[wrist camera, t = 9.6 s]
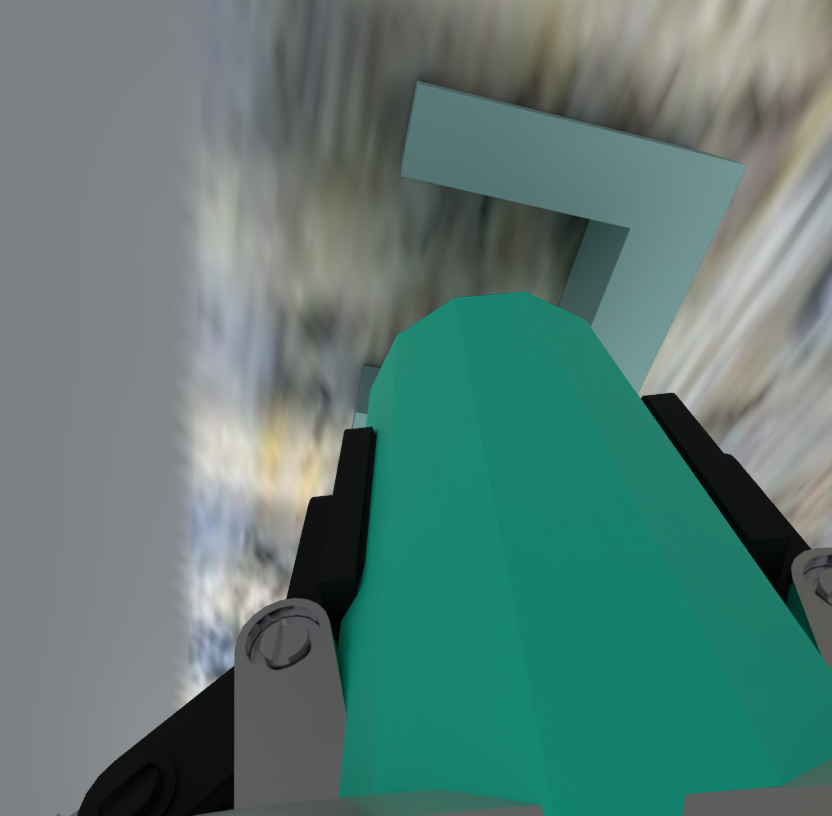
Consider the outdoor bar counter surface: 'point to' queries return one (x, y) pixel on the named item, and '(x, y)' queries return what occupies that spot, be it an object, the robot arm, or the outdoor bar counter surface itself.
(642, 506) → the candle
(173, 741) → the robot arm
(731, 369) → the outdoor bar counter surface
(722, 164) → the notch board
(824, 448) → the outdoor bar counter surface
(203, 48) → the outdoor bar counter surface
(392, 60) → the outdoor bar counter surface
